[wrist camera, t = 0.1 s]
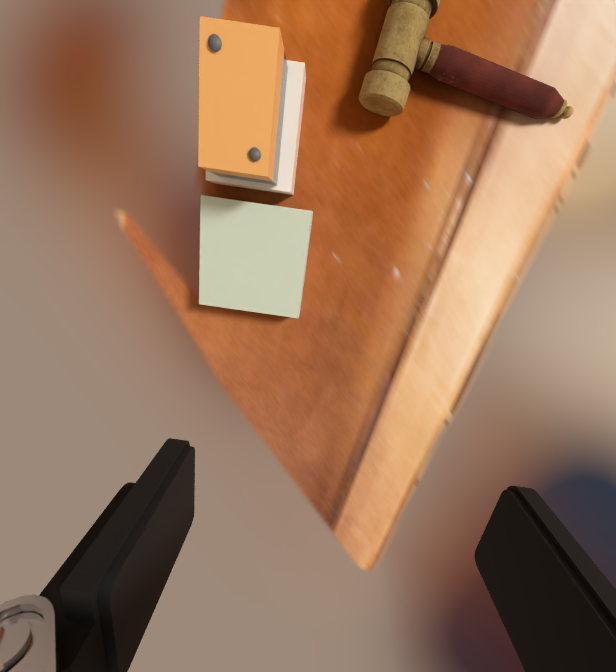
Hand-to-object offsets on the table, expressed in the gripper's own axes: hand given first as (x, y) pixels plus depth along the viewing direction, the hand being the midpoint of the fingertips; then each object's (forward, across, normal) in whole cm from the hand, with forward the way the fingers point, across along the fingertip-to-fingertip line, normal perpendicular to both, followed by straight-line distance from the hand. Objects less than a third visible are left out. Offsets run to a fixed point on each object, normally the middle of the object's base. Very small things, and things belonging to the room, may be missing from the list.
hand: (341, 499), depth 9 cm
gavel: (+32, -11, -23) cm, 41 cm away
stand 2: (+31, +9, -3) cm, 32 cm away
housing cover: (+25, +10, -16) cm, 31 cm away
